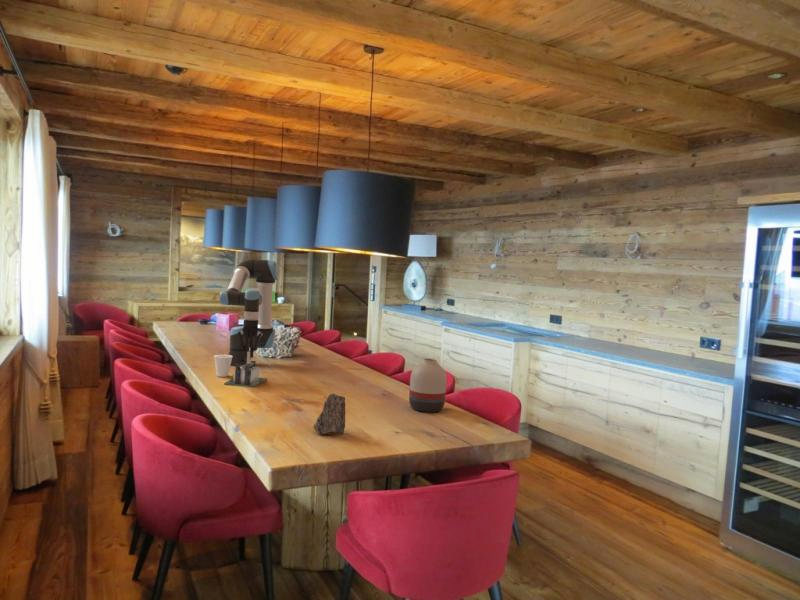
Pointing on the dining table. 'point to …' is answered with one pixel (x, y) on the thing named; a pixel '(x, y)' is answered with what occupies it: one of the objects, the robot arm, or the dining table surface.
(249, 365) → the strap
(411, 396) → the vase
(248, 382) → the green circuit board
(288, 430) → the dining table surface
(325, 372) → the dining table surface
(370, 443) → the dining table surface
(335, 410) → the stone
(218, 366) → the cup
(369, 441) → the dining table surface
